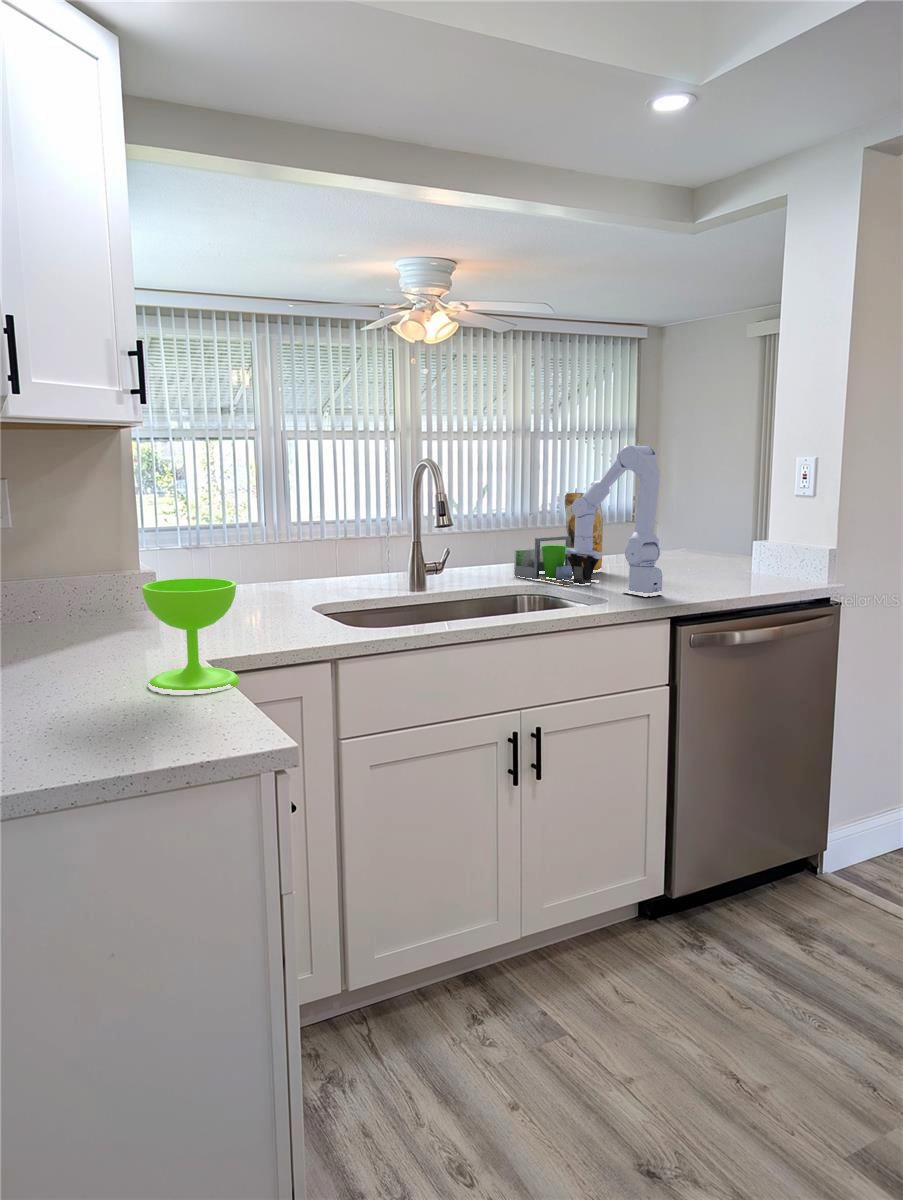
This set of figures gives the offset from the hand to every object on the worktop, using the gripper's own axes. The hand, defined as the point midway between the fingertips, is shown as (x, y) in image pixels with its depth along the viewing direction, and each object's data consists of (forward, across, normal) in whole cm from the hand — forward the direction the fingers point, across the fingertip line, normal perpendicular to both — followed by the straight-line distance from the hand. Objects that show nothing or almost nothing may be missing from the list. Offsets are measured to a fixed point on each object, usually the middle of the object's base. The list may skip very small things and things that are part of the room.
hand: (582, 578), depth 268 cm
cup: (+2, -14, 0) cm, 14 cm away
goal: (+2, -19, 0) cm, 19 cm away
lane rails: (+2, -7, 0) cm, 7 cm away
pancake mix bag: (+2, -19, +19) cm, 27 cm away
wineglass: (+2, +45, -140) cm, 148 cm away
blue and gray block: (+2, -3, 0) cm, 4 cm away
